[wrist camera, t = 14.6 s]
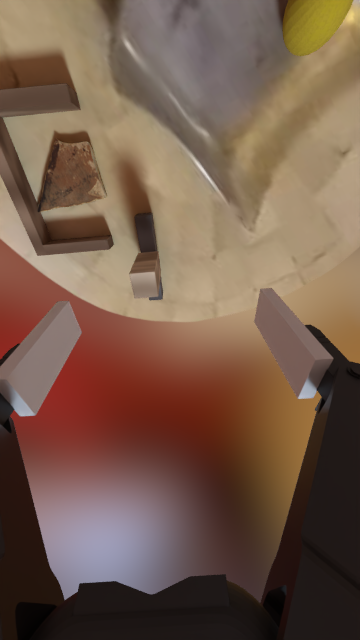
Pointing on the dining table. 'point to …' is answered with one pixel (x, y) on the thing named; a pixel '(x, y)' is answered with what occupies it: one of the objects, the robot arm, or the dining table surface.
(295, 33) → the lemon
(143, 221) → the scraper
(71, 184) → the shard
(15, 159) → the walnut bay
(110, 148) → the dining table surface
